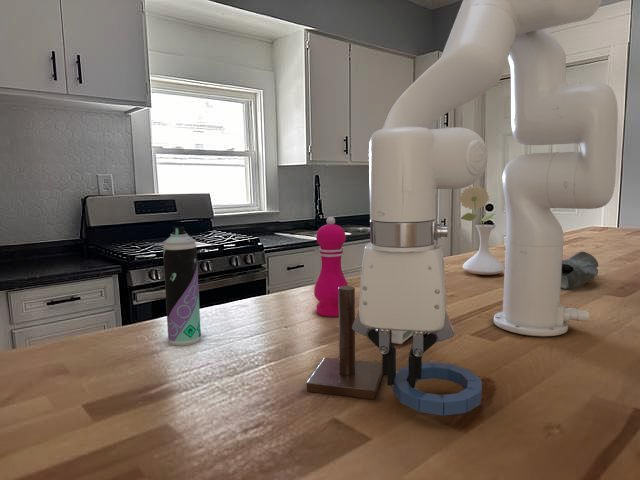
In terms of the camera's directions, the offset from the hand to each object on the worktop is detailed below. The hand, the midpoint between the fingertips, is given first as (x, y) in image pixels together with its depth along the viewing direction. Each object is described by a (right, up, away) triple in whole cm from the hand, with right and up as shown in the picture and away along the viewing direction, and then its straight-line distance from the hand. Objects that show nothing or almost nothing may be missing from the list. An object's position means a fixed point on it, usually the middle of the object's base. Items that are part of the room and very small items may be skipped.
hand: (402, 380), depth 57 cm
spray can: (-34, 0, +24) cm, 41 cm away
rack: (-6, -2, +7) cm, 10 cm away
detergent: (+57, +7, +65) cm, 86 cm away
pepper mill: (-8, +2, +39) cm, 40 cm away
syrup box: (+3, 0, +24) cm, 24 cm away
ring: (+4, -1, -1) cm, 4 cm away
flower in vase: (+36, +8, +75) cm, 84 cm away
